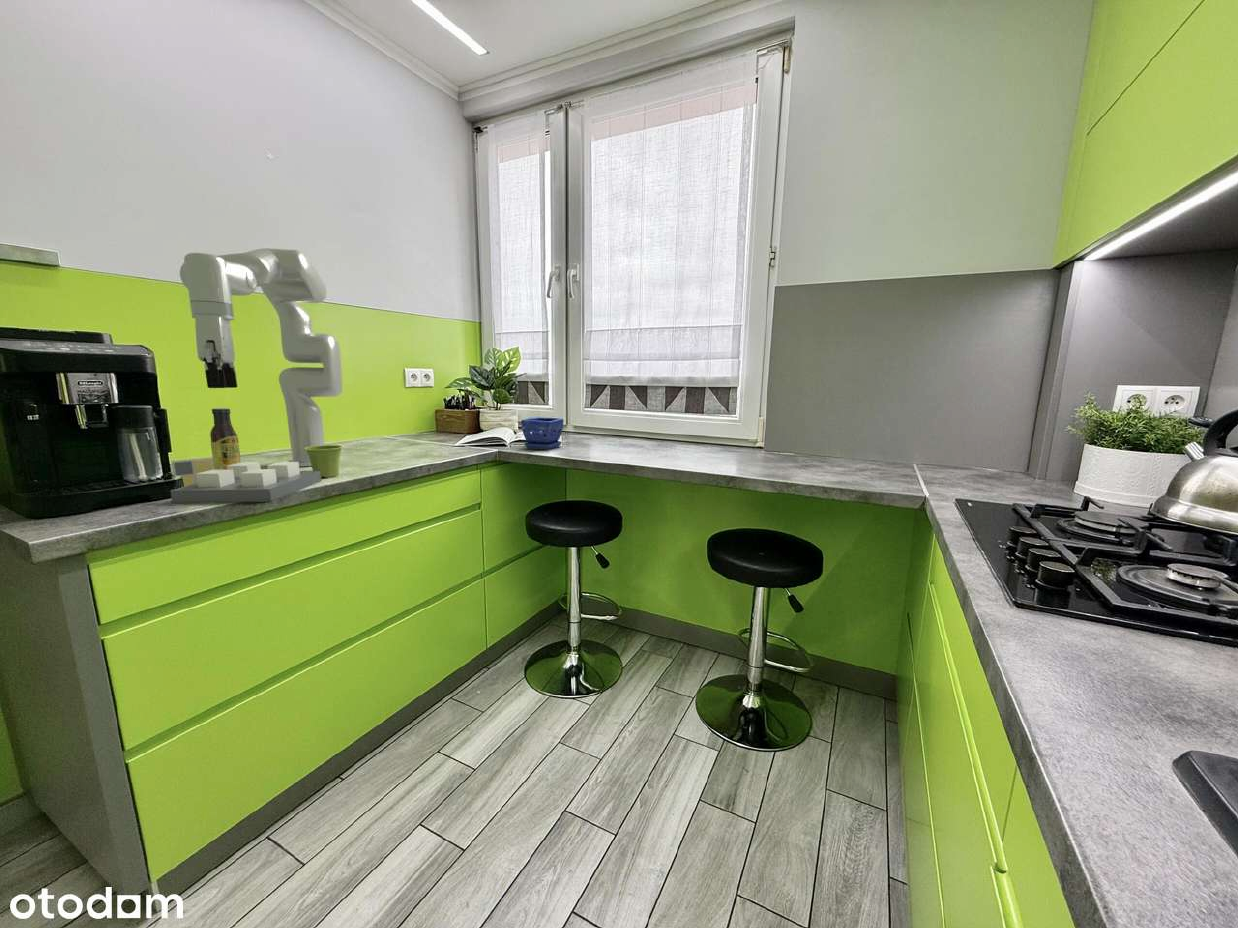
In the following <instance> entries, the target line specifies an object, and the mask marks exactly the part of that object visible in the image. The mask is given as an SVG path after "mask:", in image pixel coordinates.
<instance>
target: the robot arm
mask: <svg viewBox="0 0 1238 928" xmlns="http://www.w3.org/2000/svg"><path fill="white" fill-rule="evenodd" d="M179 278H180V281H181V282H182V284H183V285H184V287H185V288H186V289H187V290H188V298H189V306H190V312H191V317H192V318H193V319H194V320H195V321H194V323H195V341H196V351H197V352H196V353H197V358H198V360H199V361H200V362H203V363H204V369H205V370H204V372H205V379H206V387H207V388H209V389H227V388H228V389H229V388H230V389H232V388H233V389H235V388H236V389H237V388H238V382H237V373H236V369H235V365H234V362H235V360H236V356H235V355H236V354H235V345H234V340H233V333H232V328H231V323H230V321H235V314H234V305H233V297H232V296H248V295H249V296H250V295H252V294H254V293H255V291H256V290H257V288H259V287H260V288H261V291H262V293H263V294H264V295H265V297H266V298H267V300H268V301H269V303H270V304H271V305H272V306H273V308H274V309H275V312H276V313H277V316H278V319H279V327H280V337H281V347H282V350H281V351H282V355H283V357H284V358H285V360H287V361H288V362H290V363H295V364H322V366H323V367H319V366H317V367H316V366H315V367H311V366H310V367H309V366H307V367H306V366H304V367H303V366H297V367H296V366H295V367H294V366H293V367H287V368H285V369H282V371H280V373H279V376H278V384H279V386H280V390H281V392H282V396H283V399H284V404H285V410H286V417H287V425H288V426H287V427H288V434H289V441H290V449H291V458H292V459H290V460H288V461H287V462H298V463H299V468H300V467H301V468H302V467H312V465H311V462H310V458H309V455H308V454H307V451H306V450H305V448H307V447H311V446H322V445H326V443H325V435H324V427H323V426H324V425H323V417H322V411H321V410H322V409H320V407H319V405H318V404H317V403H316V402H315V400H313V399H312V398H328V397H329V398H332V397H338V396H340V395H341V393H342V391H343V375H342V374H343V373H342V360H341V351H340V345H339V342H338V340H337V338H335V337H334V336H333V335H331V334H328V333H323V332H322V333H318V332H317V333H314V332H313V327H312V319H311V316H310V315H309V313H308V312H307V311H306V310H305V309H304V308H303V307H302V306H301V305H300V304H299V303H305V304H319V303H322V302H323V301H324V300H325V299H326V298H327V287H326V285H325V282H324V280H323V278H322V276H321V275H320V273H319V272H318V271H317V268H316V267H315V265H313V263H312V262H311V260H310V259H309V258H308V257H307V255H305V254H304V253H303V252H301V251H299V250H297V249H286V248H285V249H284V248H265V247H263V248H258V249H253V250H251V251H247V252H242V253H241V252H238V253H231V254H230V253H228V254H221V255H215V254H212V253H211V254H209V253H203V252H191V253H187V254H185V255H184V258H183V263H182V264H181V266H180V267H179Z"/></svg>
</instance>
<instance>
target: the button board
mask: <svg viewBox="0 0 1238 928" xmlns="http://www.w3.org/2000/svg"><path fill="white" fill-rule="evenodd" d="M299 471H300V474H299V475H296V476H293V477H290V478H276V479H277V482H276V483H273V484H270V485H268V486H265V487H242V482H241V478H234V479H235V483H232V484H229V485H226V486H223V487H198V483H196V484H192V485H189V486H185V487H181V488H178V489H176V488H175V489H174V488H173V489H171V490H169V492H170V496H171V497H170V498H171V501H172V502H171V503H172V504H201V503H202V504H204V503H205V504H206V503H207V504H208V503H209V502H216V503H265V502H267V503H270V502H274V501H276V500H279V499H281V498H283V497H286V496H289V495H292V494H294V493H296V492H298V491H301V490H303V488H304V489H306V488H308V487H310V486H309V485H311V486H313V485H315V484H314V483H316V484H318V483H320V482H319V481H321V482H322V478H321V474H320V471H313V470H299ZM317 482H318V483H317ZM312 484H313V485H312ZM307 486H308V487H307ZM305 487H306V488H305Z"/></svg>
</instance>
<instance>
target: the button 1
mask: <svg viewBox="0 0 1238 928" xmlns="http://www.w3.org/2000/svg"><path fill="white" fill-rule="evenodd" d="M196 477H197V483H198V487H223V486H226V485H229V484H232V483H235V479H234V472H233V470H209V471H205V472H201V473H197V474H196Z"/></svg>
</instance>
